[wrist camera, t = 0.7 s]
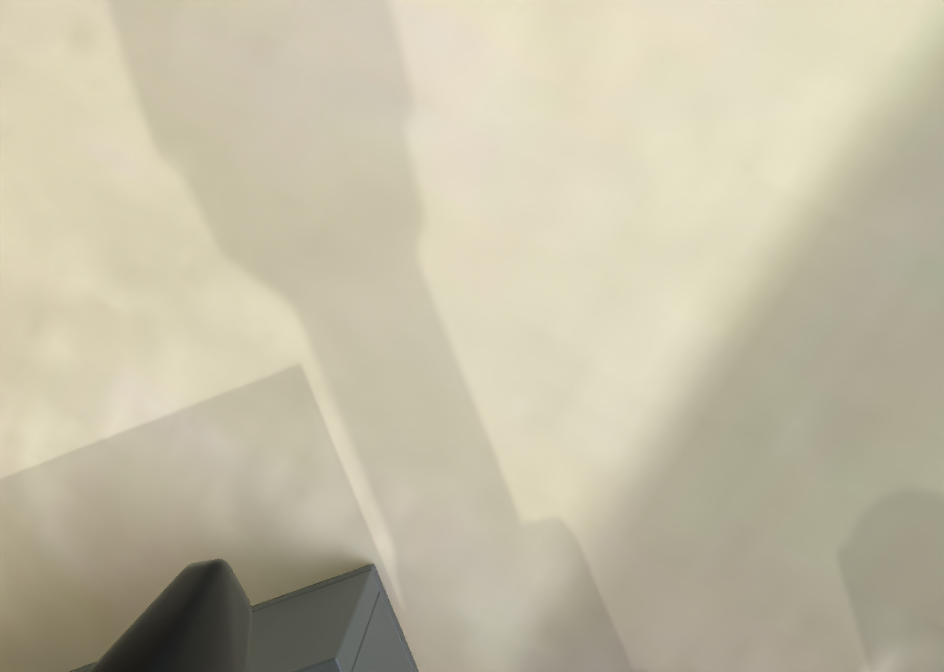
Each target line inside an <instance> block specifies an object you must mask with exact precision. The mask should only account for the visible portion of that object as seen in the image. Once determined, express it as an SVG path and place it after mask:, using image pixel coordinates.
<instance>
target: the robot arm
mask: <svg viewBox="0 0 944 672" xmlns="http://www.w3.org/2000/svg"><path fill="white" fill-rule="evenodd" d="M251 628H252V610H251V605H250V602H249V600H248V598H247V596H246V594H245V592H244V590H243V589H242V587H241V585H240V583H239V581H238V580H237V578H236V576H235V574H234V572H233V570H232V569H231V567H230V565H229V564H228V563H227V562H226V561H224V560H223V559H215V560H209V561H203V562H197V563H193V564H190V565H189V566H187V567H186V568H185V569H184V570H183V571H182V572H181V573H180V574H179V575H178V576H177V577H176V578H175V579H174V580H173V581H172V582H171V583H170V584H169V586H168V587H167V588H166V589H165V590H164V591H163V592H162V593H161V594H160V595H159V596H158V597H157V599H156V600H155V601H154V602H153V603H152V604H151V605H150V606H149V607H148V608H147V609H146V610H145V611H144V613H143V614H142V615H141V616H140V617H139V618H138V619H137V620H136V621H135V622H134V623H133V624H132V625H131V627H130V628H129V629H128V630H127V631H126V632H125V633H124V634H123V635H122V636H121V637H120V638H119V639H118V641H117V642H116V643H115V644H114V645H113V646H112V647H111V648H110V649H109V650H108V651H107V652H106V654H105V655H104V656H103V657H102V658H101V659H100V660H99V661H98V662H97V663H96V664H95V665H94V666H93V668H92V669H91V670H90V671H89V672H247V668H248V658H249V648H250V638H251Z"/></svg>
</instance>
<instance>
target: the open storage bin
mask: <svg viewBox="0 0 944 672" xmlns="http://www.w3.org/2000/svg"><path fill="white" fill-rule="evenodd" d="M251 610H252V628H251V638H250V648H249V658H248V668H247V672H419V671H418V669H417V666H416V664H415V661H414V659H413V657H412V654H411V652H410V649H409V647H408V644H407V642H406V640H405V637H404V635H403V632H402V630H401V628H400V625H399V623H398V620H397V618H396V616H395V613H394V611H393V608H392V606H391V604H390V601H389V599H388V596H387V594H386V592H385V589H384V587H383V584H382V582H381V580H380V577H379V575H378V572H377V570H376V567H375V565H374V564H371V565H368V566H365V567H362V568H359V569H357V570H354V571H351V572H348V573H345V574H343V575H340V576H337V577H334V578H331V579H329V580H326V581H323V582H320V583H317V584H315V585H312V586H309V587H306V588H303V589H301V590H298V591H295V592H292V593H289V594H287V595H284V596H281V597H278V598H275V599H272V600H270V601H267V602H264V603H261V604H258V605H256V606H253V607H251ZM96 663H97V662H96ZM96 663H93V664H90V665H87V666H85V667H82V668H79V669H76V670H73V671H71V672H89V671H90V670H91V669H92V668H93V666H94V665H95V664H96Z"/></svg>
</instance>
